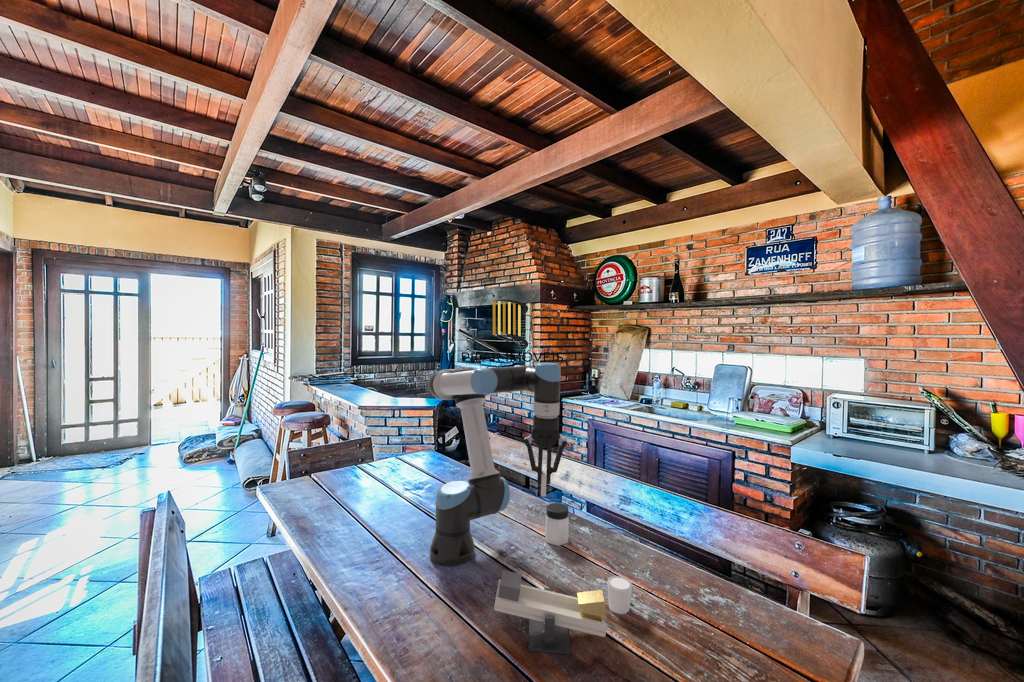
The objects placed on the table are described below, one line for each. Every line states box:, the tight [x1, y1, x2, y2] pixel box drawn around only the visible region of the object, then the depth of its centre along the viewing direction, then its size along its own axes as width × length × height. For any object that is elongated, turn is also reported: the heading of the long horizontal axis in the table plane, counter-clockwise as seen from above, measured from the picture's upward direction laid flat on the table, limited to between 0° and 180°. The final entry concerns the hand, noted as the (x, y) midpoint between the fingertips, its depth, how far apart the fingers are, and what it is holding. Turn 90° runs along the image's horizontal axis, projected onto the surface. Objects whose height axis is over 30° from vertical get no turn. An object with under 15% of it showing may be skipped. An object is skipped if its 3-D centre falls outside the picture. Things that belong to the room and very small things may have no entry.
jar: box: [544, 502, 570, 547], centre depth 152 cm, size 9×8×12 cm
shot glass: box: [606, 575, 633, 615], centre depth 116 cm, size 7×7×7 cm
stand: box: [528, 587, 571, 655], centre depth 106 cm, size 10×14×8 cm
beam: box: [493, 569, 608, 638], centre depth 106 cm, size 28×9×6 cm, turn 87°
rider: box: [576, 589, 608, 620], centre depth 105 cm, size 4×4×6 cm
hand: (543, 494), depth 122 cm, fingers closed
